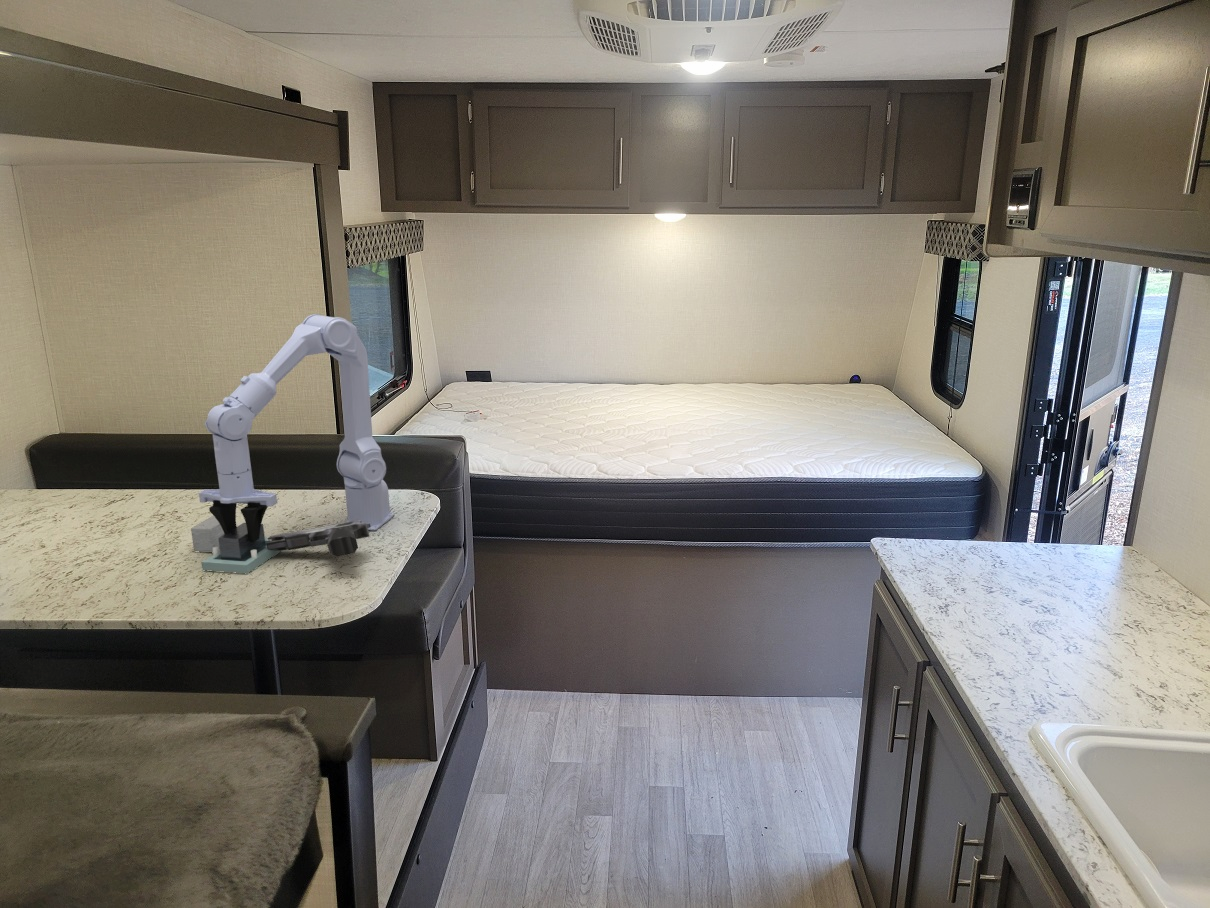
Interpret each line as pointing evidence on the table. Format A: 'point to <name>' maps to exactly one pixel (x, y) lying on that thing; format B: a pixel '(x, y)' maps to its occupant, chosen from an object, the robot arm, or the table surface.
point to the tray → (237, 566)
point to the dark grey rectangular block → (240, 544)
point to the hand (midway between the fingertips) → (243, 539)
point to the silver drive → (206, 535)
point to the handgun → (323, 538)
